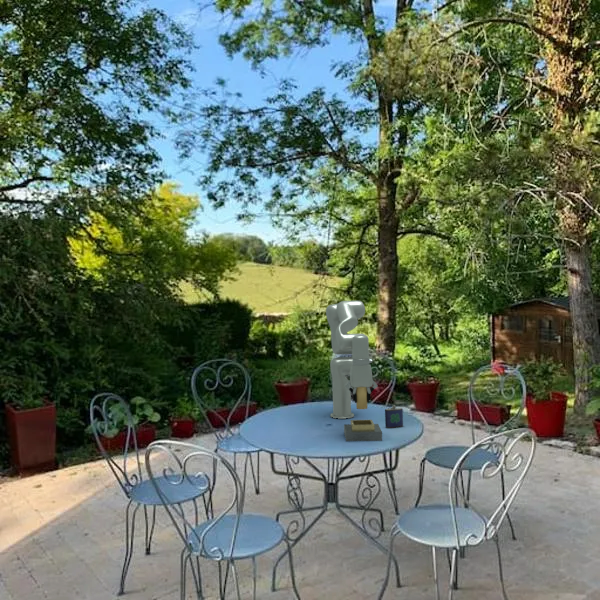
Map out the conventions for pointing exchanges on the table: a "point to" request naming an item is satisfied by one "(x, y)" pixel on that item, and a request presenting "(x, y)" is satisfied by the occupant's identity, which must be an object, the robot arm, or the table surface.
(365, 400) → the cylinder
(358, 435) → the grey square socket base
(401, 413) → the wallet
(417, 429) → the table surface
